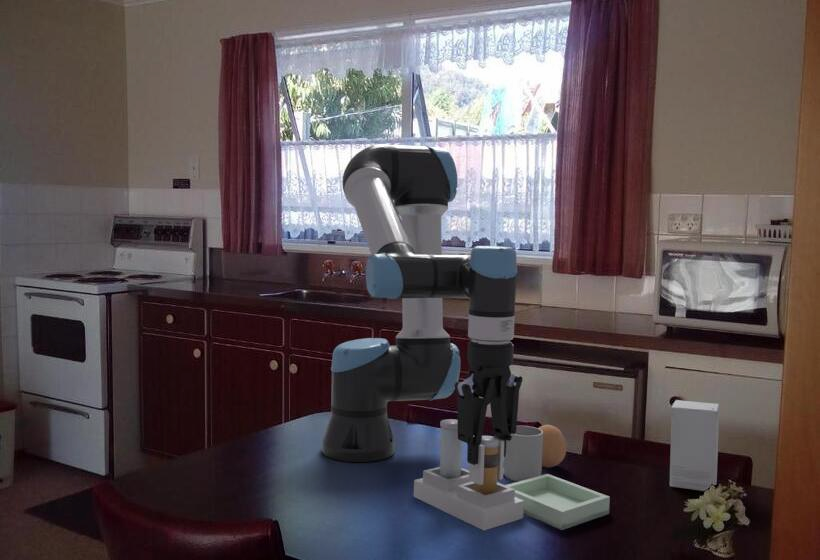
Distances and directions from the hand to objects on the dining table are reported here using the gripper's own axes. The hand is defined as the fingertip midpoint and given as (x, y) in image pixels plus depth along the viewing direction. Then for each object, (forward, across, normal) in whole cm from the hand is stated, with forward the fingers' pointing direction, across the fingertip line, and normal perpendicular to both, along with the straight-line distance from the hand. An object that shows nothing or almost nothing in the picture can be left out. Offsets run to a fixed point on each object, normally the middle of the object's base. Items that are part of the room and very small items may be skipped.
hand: (485, 479), depth 129 cm
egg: (+6, +28, +11) cm, 31 cm away
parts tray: (+6, +12, -5) cm, 14 cm away
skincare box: (+6, +43, -12) cm, 45 cm away
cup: (+6, +19, +11) cm, 23 cm away
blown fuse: (+3, 0, 0) cm, 3 cm away
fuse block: (+6, 0, +4) cm, 8 cm away
